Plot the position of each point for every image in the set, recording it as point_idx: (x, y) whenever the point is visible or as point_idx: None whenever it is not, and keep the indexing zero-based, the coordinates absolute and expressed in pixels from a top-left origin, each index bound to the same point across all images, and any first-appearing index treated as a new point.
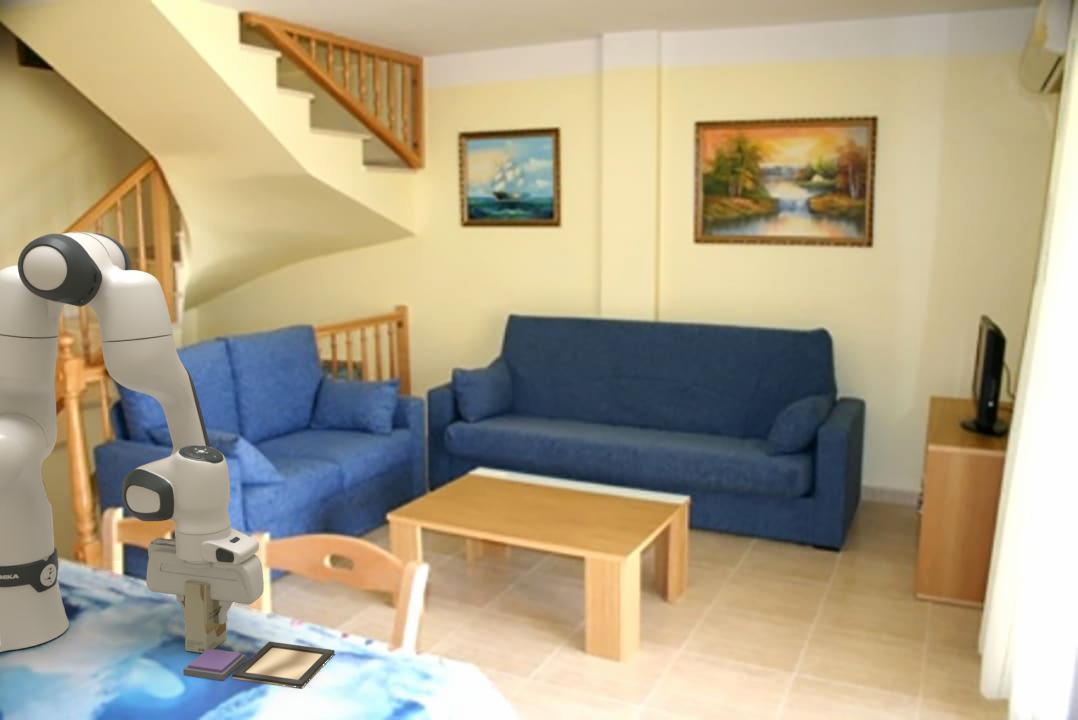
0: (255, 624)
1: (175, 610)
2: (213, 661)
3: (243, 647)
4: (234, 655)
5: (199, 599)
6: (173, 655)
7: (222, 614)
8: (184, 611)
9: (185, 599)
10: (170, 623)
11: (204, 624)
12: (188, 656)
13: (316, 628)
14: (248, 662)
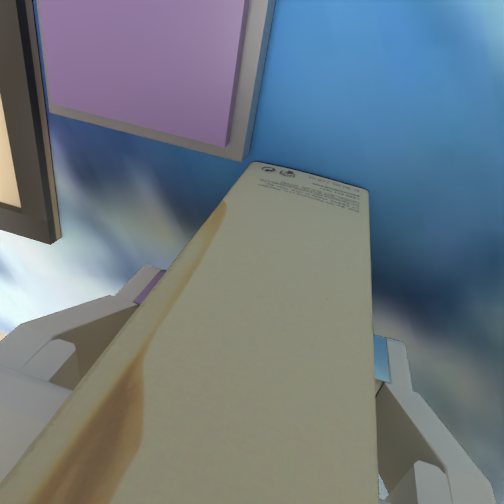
0: None
1: None
2: None
3: (138, 224)
4: (64, 70)
5: (172, 396)
6: (423, 148)
7: (102, 297)
8: (399, 378)
9: (365, 439)
10: (494, 421)
11: (215, 230)
12: (339, 139)
13: (4, 332)
14: (11, 48)
